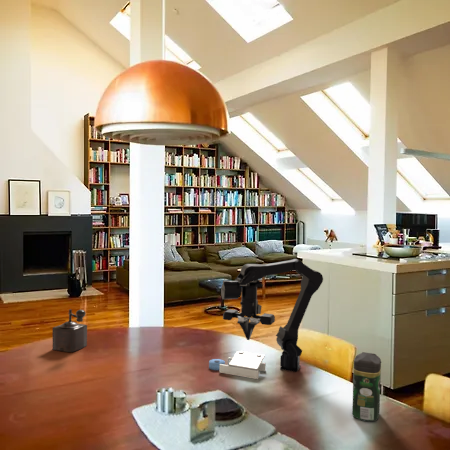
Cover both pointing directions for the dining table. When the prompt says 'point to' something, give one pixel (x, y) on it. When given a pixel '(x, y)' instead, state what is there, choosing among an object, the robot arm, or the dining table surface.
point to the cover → (247, 360)
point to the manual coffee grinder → (70, 334)
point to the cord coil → (215, 363)
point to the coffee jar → (366, 386)
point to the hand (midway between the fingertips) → (248, 339)
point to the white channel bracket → (241, 370)
